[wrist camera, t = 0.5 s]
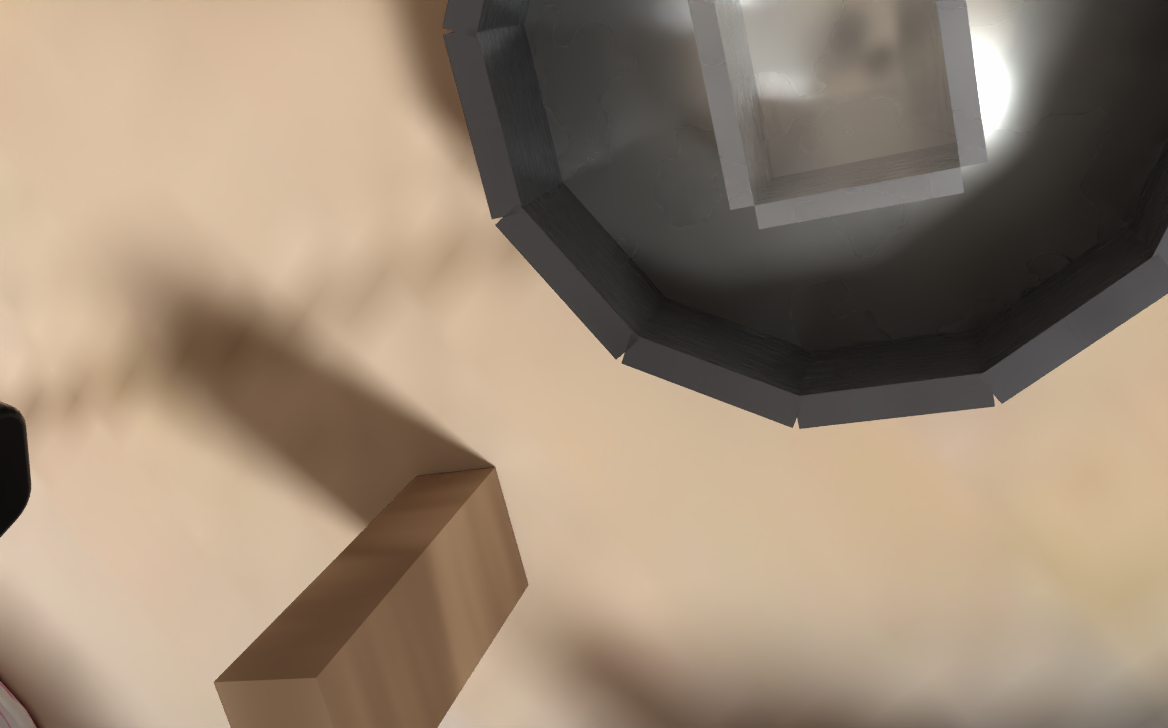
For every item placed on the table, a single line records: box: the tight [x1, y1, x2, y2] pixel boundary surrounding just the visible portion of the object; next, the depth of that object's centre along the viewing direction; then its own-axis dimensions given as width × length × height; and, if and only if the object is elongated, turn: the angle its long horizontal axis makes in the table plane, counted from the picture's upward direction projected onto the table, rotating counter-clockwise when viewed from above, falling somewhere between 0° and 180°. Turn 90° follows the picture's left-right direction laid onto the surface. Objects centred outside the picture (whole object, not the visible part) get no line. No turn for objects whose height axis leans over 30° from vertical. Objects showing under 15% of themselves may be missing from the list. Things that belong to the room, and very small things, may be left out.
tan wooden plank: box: [214, 467, 528, 728], centre depth 22 cm, size 2×3×8 cm, turn 14°
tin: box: [443, 0, 1168, 429], centre depth 18 cm, size 12×12×3 cm
